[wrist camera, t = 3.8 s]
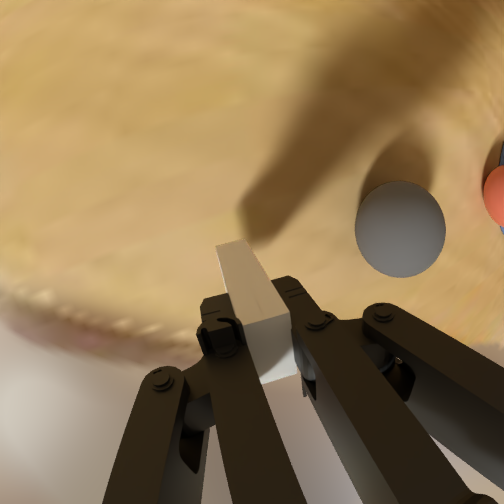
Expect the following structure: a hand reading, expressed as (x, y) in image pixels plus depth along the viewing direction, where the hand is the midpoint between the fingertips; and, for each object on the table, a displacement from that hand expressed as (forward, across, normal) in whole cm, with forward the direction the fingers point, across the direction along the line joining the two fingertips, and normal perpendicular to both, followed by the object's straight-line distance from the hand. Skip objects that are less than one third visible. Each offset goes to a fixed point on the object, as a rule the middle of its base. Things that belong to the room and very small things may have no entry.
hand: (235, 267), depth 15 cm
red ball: (-1, +24, 0) cm, 24 cm away
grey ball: (-1, +10, 0) cm, 10 cm away
